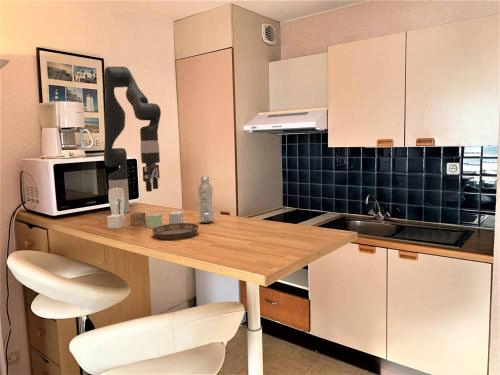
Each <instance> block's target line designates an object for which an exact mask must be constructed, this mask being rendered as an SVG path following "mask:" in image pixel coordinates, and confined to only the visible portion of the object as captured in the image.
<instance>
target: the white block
mask: <svg viewBox="0 0 500 375" xmlns="http://www.w3.org/2000/svg"><path fill="white" fill-rule="evenodd" d="M106 218H107V219H106V220H107V229H120V228H122V227H124V226H125V223H124V219H123V214H117V215H112V214H110V215H108V216H106Z"/></svg>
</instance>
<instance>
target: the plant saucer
mask: <svg viewBox="0 0 500 375" xmlns="http://www.w3.org/2000/svg"><path fill="white" fill-rule="evenodd" d="M199 227H200V226H199V225H198V224H197V223H190V222H189V223H188V222H184V223H176V224H167V223H166V224H162V225H161V226H159V227H156V228H152V229H151V232H152V233H153V234H154V236H155V237H156V238H158V239H160V240H181V238H182V239H186V238H189V237H190V238H191V237H192V236H194V235H195V234H196V232H197V231H198V230H199Z"/></svg>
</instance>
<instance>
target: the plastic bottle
mask: <svg viewBox="0 0 500 375" xmlns="http://www.w3.org/2000/svg"><path fill="white" fill-rule="evenodd" d="M213 190H214V189H213V186H212V185H211V183H210V176H200V184H199V186H198V189H197V193H198V198H199V218H198V219H199V221H200V222H201V223H205V224H208V223H212V222H214V218H215V214H214V208H213Z"/></svg>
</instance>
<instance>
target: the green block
mask: <svg viewBox="0 0 500 375" xmlns="http://www.w3.org/2000/svg"><path fill="white" fill-rule="evenodd" d="M162 218H163V215H162V213H149V214H146V229H149V228H152V229H154V228H156V227H159V226H162V225H163V219H162Z"/></svg>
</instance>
